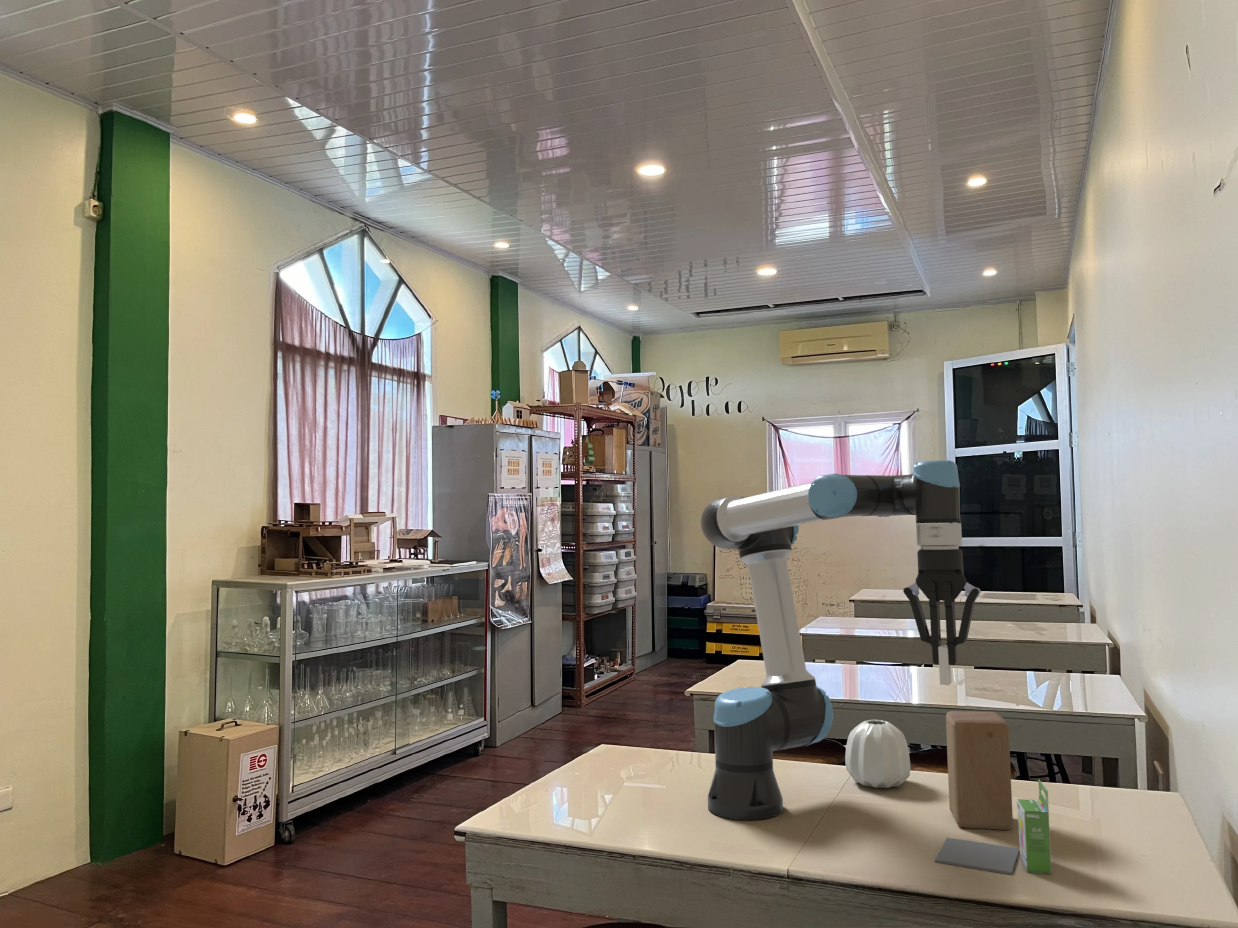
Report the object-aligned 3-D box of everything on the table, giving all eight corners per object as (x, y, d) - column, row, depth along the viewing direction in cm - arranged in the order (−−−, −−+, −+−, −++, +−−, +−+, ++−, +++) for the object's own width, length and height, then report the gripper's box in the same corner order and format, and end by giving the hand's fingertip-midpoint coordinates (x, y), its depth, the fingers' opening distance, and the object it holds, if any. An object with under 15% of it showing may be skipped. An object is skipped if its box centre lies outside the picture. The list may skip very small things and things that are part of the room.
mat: (934, 861, 151) (934, 859, 151) (947, 839, 161) (946, 837, 161) (1011, 874, 145) (1011, 872, 145) (1019, 850, 155) (1019, 848, 155)
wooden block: (1014, 831, 165) (1009, 722, 166) (957, 828, 167) (953, 720, 168) (1002, 814, 174) (998, 710, 176) (948, 811, 176) (944, 709, 178)
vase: (843, 774, 203) (841, 714, 204) (905, 775, 201) (903, 715, 202) (850, 792, 190) (848, 728, 191) (917, 794, 188) (915, 729, 189)
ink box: (1018, 856, 152) (1015, 777, 153) (1044, 858, 151) (1040, 778, 152) (1025, 872, 146) (1022, 789, 147) (1052, 874, 145) (1048, 790, 146)
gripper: (896, 548, 157) (902, 684, 155) (975, 548, 150) (982, 689, 148) (906, 547, 163) (912, 677, 161) (982, 547, 157) (988, 682, 155)
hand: (945, 683), depth 155 cm, fingers closed
